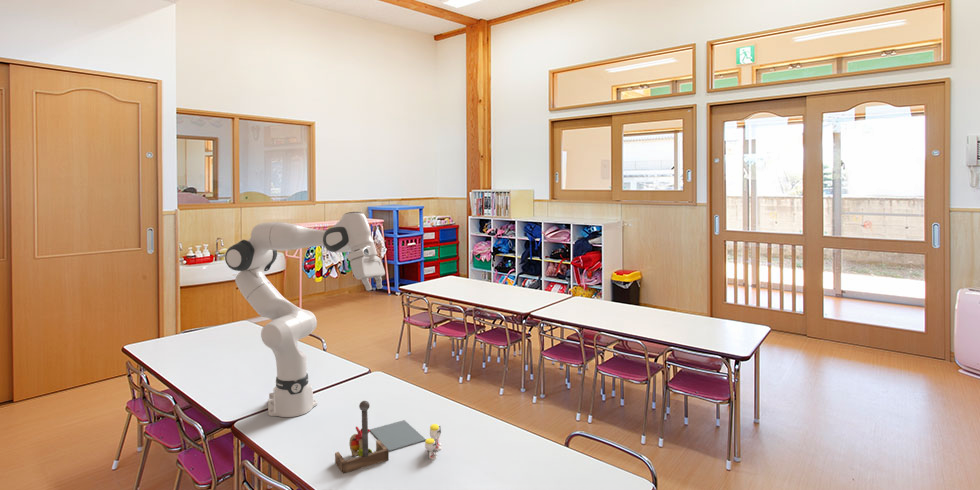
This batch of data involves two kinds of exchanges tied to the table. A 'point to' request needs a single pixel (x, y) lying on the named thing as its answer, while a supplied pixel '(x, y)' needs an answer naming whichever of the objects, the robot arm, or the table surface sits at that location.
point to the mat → (397, 435)
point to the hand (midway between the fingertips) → (374, 289)
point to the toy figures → (433, 441)
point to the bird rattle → (357, 443)
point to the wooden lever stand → (367, 458)
